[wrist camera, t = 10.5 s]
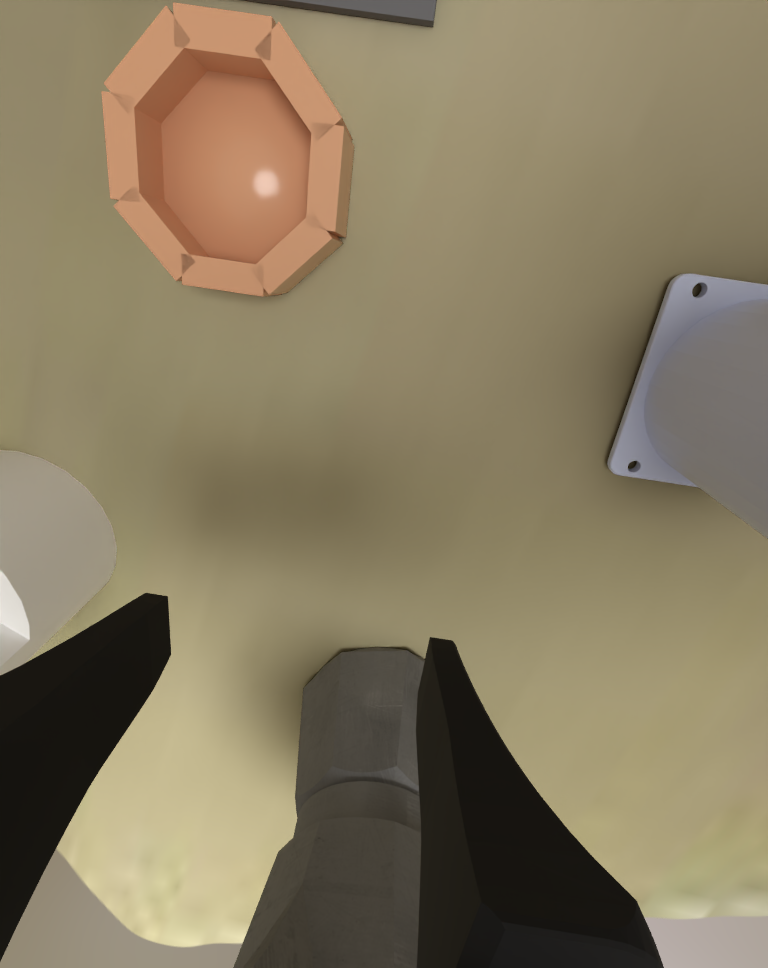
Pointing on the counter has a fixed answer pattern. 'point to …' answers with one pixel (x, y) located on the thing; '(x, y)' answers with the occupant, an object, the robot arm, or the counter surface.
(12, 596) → the cylinder with rectangular tab
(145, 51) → the bowl
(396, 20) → the mat
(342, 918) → the coffeepot
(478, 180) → the counter surface
